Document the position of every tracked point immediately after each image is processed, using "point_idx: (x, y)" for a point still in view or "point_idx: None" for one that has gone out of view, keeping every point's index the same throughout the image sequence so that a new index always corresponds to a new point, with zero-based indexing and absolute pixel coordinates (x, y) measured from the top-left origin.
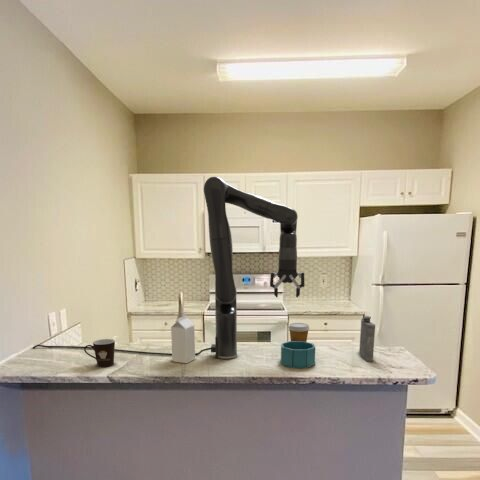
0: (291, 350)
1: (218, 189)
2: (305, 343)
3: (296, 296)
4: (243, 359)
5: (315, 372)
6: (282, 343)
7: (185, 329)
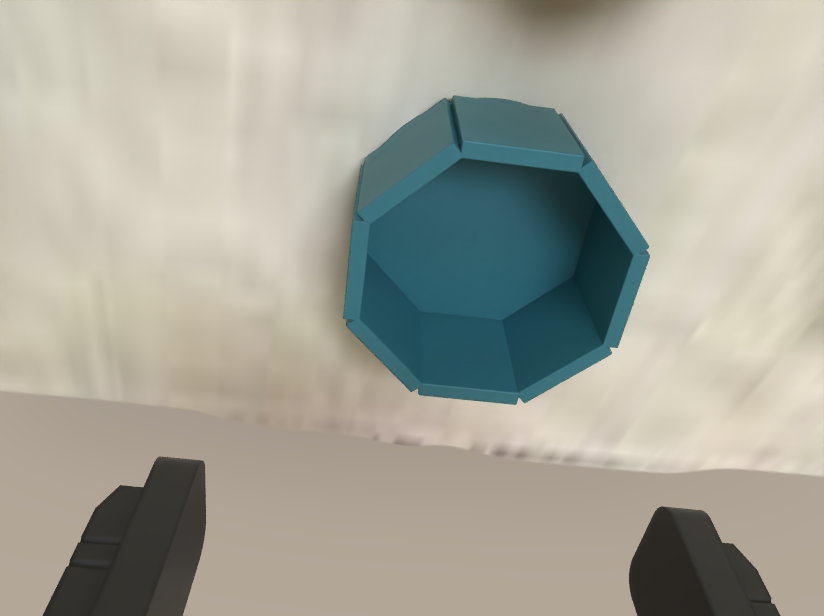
0: (404, 381)
1: None
2: (596, 200)
3: (633, 589)
4: (49, 81)
5: None
6: (367, 213)
7: None
